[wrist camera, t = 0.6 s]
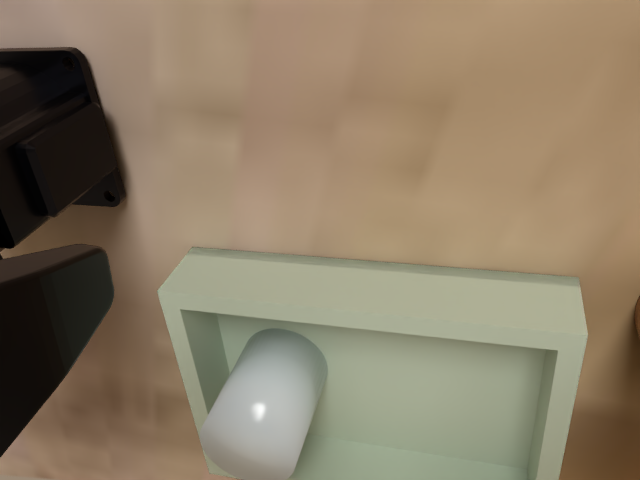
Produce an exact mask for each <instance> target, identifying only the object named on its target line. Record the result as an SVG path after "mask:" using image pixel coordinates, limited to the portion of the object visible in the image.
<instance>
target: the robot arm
mask: <svg viewBox="0 0 640 480" xmlns="http://www.w3.org/2000/svg"><path fill="white" fill-rule="evenodd" d="M69 58H71V59H72V60H73V62H74V64H75V67H73V66H72V65H71V63H70V62H69ZM109 191H110V192H112V193H113V194H114V196H115V197H114V196H112V195H111V194H110V192H109ZM124 198H125V191H124V188H123V184H122V181H121V177H120V174H119V170H118V167H117V162H116V159H115V156H114V152H113V149H112V145H111V142H110V138H109V135H108V131H107V128H106V125H105V121H104V118H103V114H102V111H101V108H100V105H99V102H98V98H97V95H96V91H95V88H94V84H93V81H92V78H91V74H90V71H89V67H88V64H87V60H86V58H85V56H84V55H83V54H82V52H81V51H79V50H78V49H76V48H72V47H57V48H7V49H0V252H1V251H2V250H3V249H5V248H8V249H11V248H14V247H15V246H16V245H18V244H19V243H20V242H21V241H23V240H24V239H25V238H26V237H28V236H29V235H30V234H31V233H33V232H34V231H35V230H36V229H37V228H39V227H40V226H41V225H42V224H44V223H45V222H46V221H47V220H49V219H50V218H51V217H56V216H58V215H59V214H60V213H61V212H63V211H64V210H65V209H66V208H68V207H69V206H70V205H71V204H75V205H91V206H107V207H115V206H117V205H119V204H120V203H121V202H122V201H123V200H124ZM113 298H114V287H113V282H112V277H111V271H110V266H109V261H108V256H107V253H106V252H105V250H104V249H102V248H101V247H97V246H91V245H85V244H74V245H70V246H65V247H60V248H55V249H50V250H45V251H41V252H36V253H31V254H26V255H21V256H16V257H12V258H7V259H3V257H2V256H1V254H0V457H1V456H2V455H3V454H4V452H5V451H6V450H7V449H8V447H9V446H10V445H11V444H12V442H13V441H14V440H15V439H16V438H17V436H18V435H19V434H20V433H21V431H22V430H23V429H24V428H25V426H26V425H27V424H28V423H29V422H30V420H31V419H32V418H33V417H34V415H35V414H36V413H37V412H38V410H39V409H40V408H41V407H42V405H43V404H44V403H45V402H46V401H47V399H48V398H49V397H50V396H51V394H52V393H53V392H54V391H55V389H56V388H57V387H58V386H59V384H60V383H61V382H62V380H63V379H64V378H65V376H66V375H67V374H68V372H69V371H70V369H71V368H72V366H73V365H74V363H75V362H76V360H77V359H78V357H79V356H80V354H81V353H82V351H83V349H84V348H85V346H86V345H87V343H88V342H89V340H90V338H91V337H92V335H93V334H94V332H95V331H96V329H97V328H98V326H99V324H100V323H101V321H102V320H103V318H104V317H105V315H106V313H107V312H108V310H109V309H110V307H111V304H112V302H113Z"/></svg>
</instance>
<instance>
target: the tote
mask: <svg viewBox="0 0 640 480" xmlns="http://www.w3.org/2000/svg"><path fill="white" fill-rule="evenodd" d="M157 292H158V296H159V299H160V303H161V306H162V310H163V313H164V317H165V320H166V324H167V327H168V331H169V334H170V338H171V341H172V345H173V348H174V352H175V355H176V359H177V362H178V366H179V369H180V373H181V376H182V380H183V383H184V387H185V390H186V394H187V397H188V401H189V404H190V407H191V411H192V414H193V418H194V421H195V425H196V428H197V432H198V435H199V439H200V430H201V428H202V426H203V424H204V422H205V420H206V418H207V416H208V414H209V413H210V411H211V409H212V407H213V405H214V403H215V401H216V399H217V398H218V396H219V394H220V392H221V390H222V388H223V386H224V384H225V383H226V381H227V379H228V377H229V375H230V373H231V371H232V369H233V368H234V366H235V364H236V362H237V360H238V358H239V356H240V354H241V353H242V351H243V349H244V347H245V345H246V343H247V341H248V340H249V338H250V337H251V336H252V335H254V334H255V333H257V332H259V331H261V330H265V329H273V328H277V329H285V330H289V331H293V332H295V333H298V334H300V335H302V336H304V337H306V338H307V339H309V340H310V341H311V342H313V343H314V344H315V345H316V346H317V347H318V348H319V349H320V351H321V352H322V354H323V355H324V357H325V359H326V362H327V366H328V374H327V378H326V380H325V383H324V386H323V389H322V392H321V395H320V398H319V401H318V404H317V406H316V409H315V412H314V415H313V418H312V421H311V424H310V427H309V429H308V432H307V435H306V438H305V441H304V444H303V447H302V450H301V453H300V455H299V458H298V461H297V464H296V467H295V470H294V472H293V473H292V475H291V476H290V477H289V478H287V479H286V480H559V475H560V470H561V466H562V461H563V456H564V451H565V446H566V441H567V436H568V431H569V426H570V421H571V416H572V411H573V406H574V401H575V396H576V392H577V387H578V382H579V377H580V372H581V367H582V362H583V357H584V352H585V347H586V342H587V337H588V332H587V326H586V320H585V314H584V307H583V301H582V295H581V289H580V283H579V277H568V276H556V275H543V274H530V273H517V272H505V271H492V270H479V269H467V268H454V267H441V266H428V265H416V264H403V263H390V262H377V261H365V260H352V259H339V258H327V257H314V256H301V255H288V254H276V253H263V252H250V251H237V250H225V249H212V248H199V247H192V248H191V249H190V251H189V252H188V253H187V254H186V256H185V257H184V258H183V259H182V261H181V262H180V263H179V264H178V266H177V267H176V268H175V269H174V271H173V272H172V273H171V274H170V276H169V277H168V278H167V279H166V281H165V282H164V283H163V284H162V286H161V287H160V288H159V289H158V291H157ZM201 446H202V445H201ZM202 449H203V448H202ZM203 453H204V456H205V460H206V463H207V467H208V470H209V473H210V474H215V475H220V476H226V477H231V478H236V479H239V478H237V477H235V476H233V475H231V474H229V473H227V472H225V471H224V470H222V469H221V468H220V467H218V466H217V465H216V464H215V463H214V462H213V461H212V460H211V459H210V458H209V457H208V456H207V454H206V453H205V452H204V450H203Z"/></svg>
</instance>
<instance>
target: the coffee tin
mask: <svg viewBox="0 0 640 480" xmlns="http://www.w3.org/2000/svg"><path fill="white" fill-rule="evenodd" d="M635 323H636V328H637V331H638V335H639V339H640V297H639V299H638V301H637V304H636V309H635Z"/></svg>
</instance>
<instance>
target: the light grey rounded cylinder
mask: <svg viewBox="0 0 640 480" xmlns="http://www.w3.org/2000/svg"><path fill="white" fill-rule="evenodd" d="M327 374H328V366H327V362H326V359H325V357H324V355H323V354H322V352H321V351H320V349H319V348H318V347H317V346H316V345H315V344H314V343H313V342H311V341H310V340H309V339H307V338H306V337H304V336H302V335H300V334H298V333H295V332H293V331H289V330H285V329H277V328H273V329H265V330H261V331H259V332H257V333H255V334H254V335H252V336H251V337H250V338H249V340H248V341H247V343H246V345H245V347H244V349H243V351H242V353H241V354H240V356H239V358H238V360H237V362H236V364H235V366H234V368H233V369H232V371H231V373H230V375H229V377H228V379H227V381H226V383H225V384H224V386H223V388H222V390H221V392H220V394H219V396H218V398H217V399H216V401H215V403H214V405H213V407H212V409H211V411H210V413H209V414H208V416H207V418H206V420H205V422H204V424H203V426H202V428H201V430H200V443H201V445H202V448H203V450H204V452H205V453H206V454H207V456H208V457H209V458H210V459H211V460H212V461H213V462H214V463H215V464H216V465H217V466H218V467H220V468H221V469H222V470H224V471H225V472H227V473H229V474H231V475H233V476H235V477H237V478H239V479H242V480H286V479H287V478H289V477H290V476H291V475H292V473H293V472H294V470H295V467H296V464H297V461H298V458H299V455H300V453H301V450H302V447H303V444H304V441H305V438H306V435H307V432H308V429H309V427H310V424H311V421H312V418H313V415H314V412H315V409H316V406H317V404H318V401H319V398H320V395H321V392H322V389H323V386H324V383H325V380H326V378H327Z"/></svg>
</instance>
